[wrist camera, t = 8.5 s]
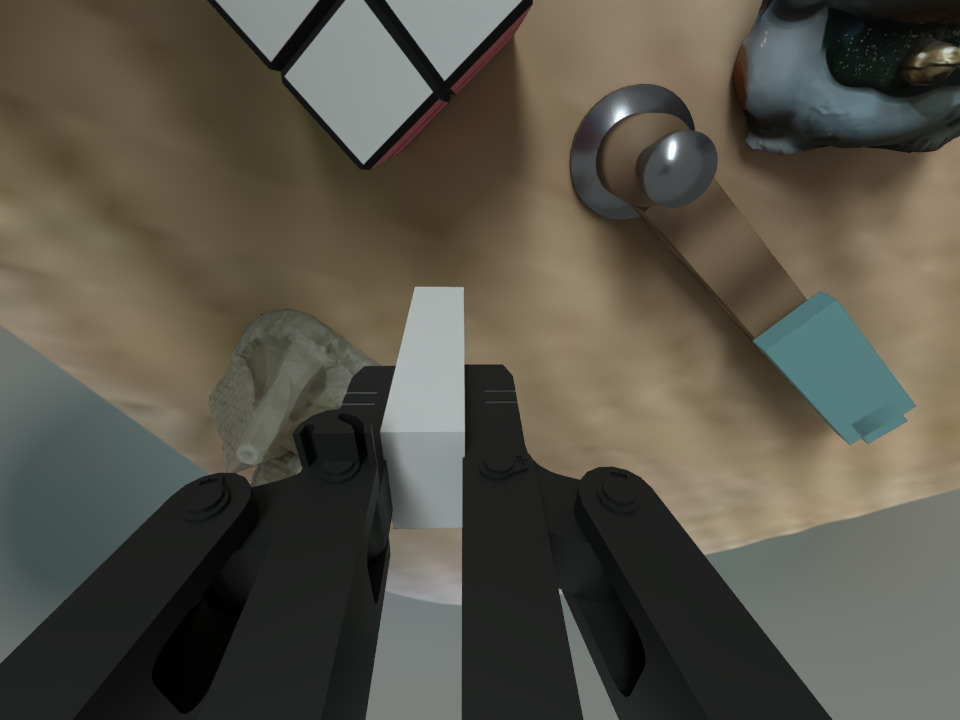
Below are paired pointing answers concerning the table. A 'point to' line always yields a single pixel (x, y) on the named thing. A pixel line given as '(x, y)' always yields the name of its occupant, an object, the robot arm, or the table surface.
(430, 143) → the table surface
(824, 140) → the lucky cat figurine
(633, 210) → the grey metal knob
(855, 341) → the block
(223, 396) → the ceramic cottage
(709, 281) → the walnut link
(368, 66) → the puzzle cube
